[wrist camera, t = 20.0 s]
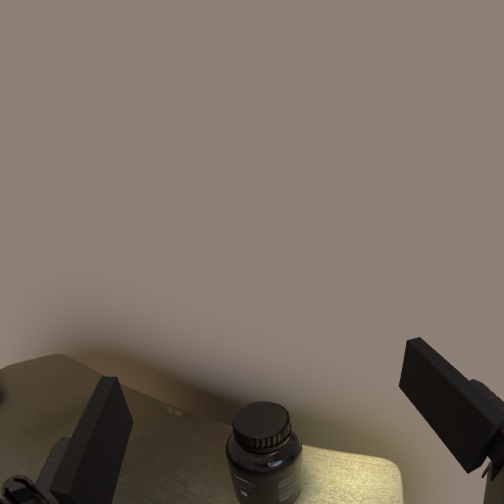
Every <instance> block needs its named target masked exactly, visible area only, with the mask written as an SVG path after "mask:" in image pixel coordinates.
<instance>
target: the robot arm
mask: <svg viewBox="0 0 504 504" xmlns="http://www.w3.org/2000/svg"><path fill="white" fill-rule="evenodd" d="M399 387H400V389H401V390H402V391H403V392H404V393H405V395H406V396H407V397H408V399H409V400H410V401H411V402H412V404H413V405H414V406H415V407H416V408H417V410H418V411H419V412H420V413H421V415H422V416H423V417H424V419H425V420H426V421H427V422H428V423H429V425H430V426H431V427H432V429H433V430H434V431H435V432H436V434H437V435H438V436H439V438H440V439H441V440H442V441H443V442H444V444H445V445H446V447H447V448H448V449H449V450H450V452H451V453H452V454H453V456H454V457H455V458H456V459H457V461H458V462H459V463H460V465H461V466H462V467H463V469H464V470H465V471H466V472H467V474H468V473H470V472H472V471H473V470H475V469H477V468H479V467H480V466H482V464H483V462H484V461H485V459H486V457H487V456H488V457H489V458H490V460H491V461H490V463H489V464H488V466H487V468H486V469H485V471H484V472H483V474H482V478H483V477H484V476H485V475H486V473H487V472H488V474H487V482H486V489H485V495H484V502H483V504H504V402H503V401H502V400H501V399H500V398H499V397H498V396H497V397H496V394H494V393H493V392H492V391H490V389H489V388H488V387H486V386H485V385H484V384H483V383H481V382H479V381H476V380H474V379H472V380H470V381H469V380H467V378H465V377H464V376H463V375H462V374H461V373H460V372H459V371H458V370H457V369H455V368H454V367H453V366H452V365H451V364H450V363H449V362H447V361H446V360H445V359H444V358H443V357H442V356H441V355H440V354H439V353H437V352H436V351H435V350H434V349H433V348H432V347H431V346H429V345H428V344H427V343H426V342H425V341H424V340H422V339H421V338H420V337H418V338H415V339H411V340H407V343H406V349H405V355H404V361H403V367H402V372H401V378H400V383H399ZM132 426H133V419H132V417H131V414H130V412H129V409H128V406H127V404H126V401H125V398H124V395H123V393H122V390H121V387H120V384H119V381H118V378H117V377H101V379H100V381H99V383H98V385H97V387H96V389H95V391H94V393H93V394H92V396H91V398H90V400H89V402H88V404H87V406H86V408H85V410H84V412H83V414H82V417H81V419H80V421H79V423H78V425H77V427H76V429H75V431H74V433H73V435H72V437H71V438H67V437H62V438H61V439H60V440H59V441H57V442H56V443H55V444H54V446H53V448H52V450H51V452H50V456H48V458H47V460H46V463H45V464H44V466H43V468H42V470H41V472H40V475H39V477H38V479H37V481H36V483H35V485H34V484H33V482H32V481H31V480H30V479H29V478H27V477H25V476H21V475H17V476H13V477H11V478H9V479H7V480H6V481H5V483H4V484H3V487H2V495H3V496H4V497H5V498H6V499H0V504H112V500H113V496H114V492H115V488H116V484H117V480H118V476H119V472H120V469H121V465H122V461H123V457H124V454H125V450H126V447H127V443H128V439H129V436H130V432H131V429H132Z"/></svg>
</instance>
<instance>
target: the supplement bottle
mask: <svg viewBox="0 0 504 504" xmlns="http://www.w3.org/2000/svg"><path fill="white" fill-rule="evenodd" d="M232 426H233V433H232V434H231V435H230V437H229V438H228V440H227V443H226V457H227V461H228V466H229V470H230V474H231V479H232V483H233V487H234V491H235V495H236V497H237V500H238V501H239V503H240V504H293V503H294V502H295V501H296V500H297V498H298V496H299V493H300V485H301V463H302V443H301V439H300V437H299V435H298V434H297V432H296V431H295V430H294V429H293V428H292V427H291V424H290V416H289V413H288V412H287V410H286V409H285V408H284V407H283V406H281V405H279V404H276V403H273V402H267V401H259V402H254V403H249V404H247V405H245V406H243V407H241V408H240V409H238V410H237V412H235V415H234V416H233V420H232Z"/></svg>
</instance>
